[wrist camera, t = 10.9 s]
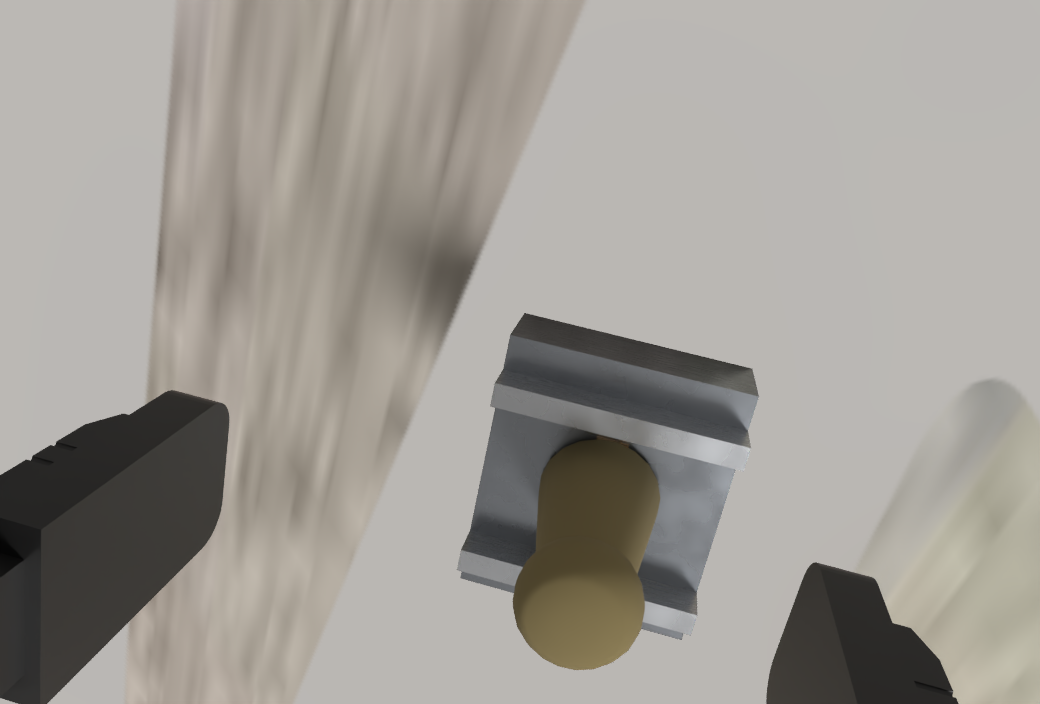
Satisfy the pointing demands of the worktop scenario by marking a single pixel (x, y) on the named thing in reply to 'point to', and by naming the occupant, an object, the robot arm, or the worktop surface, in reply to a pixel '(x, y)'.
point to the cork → (588, 555)
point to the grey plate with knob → (622, 419)
